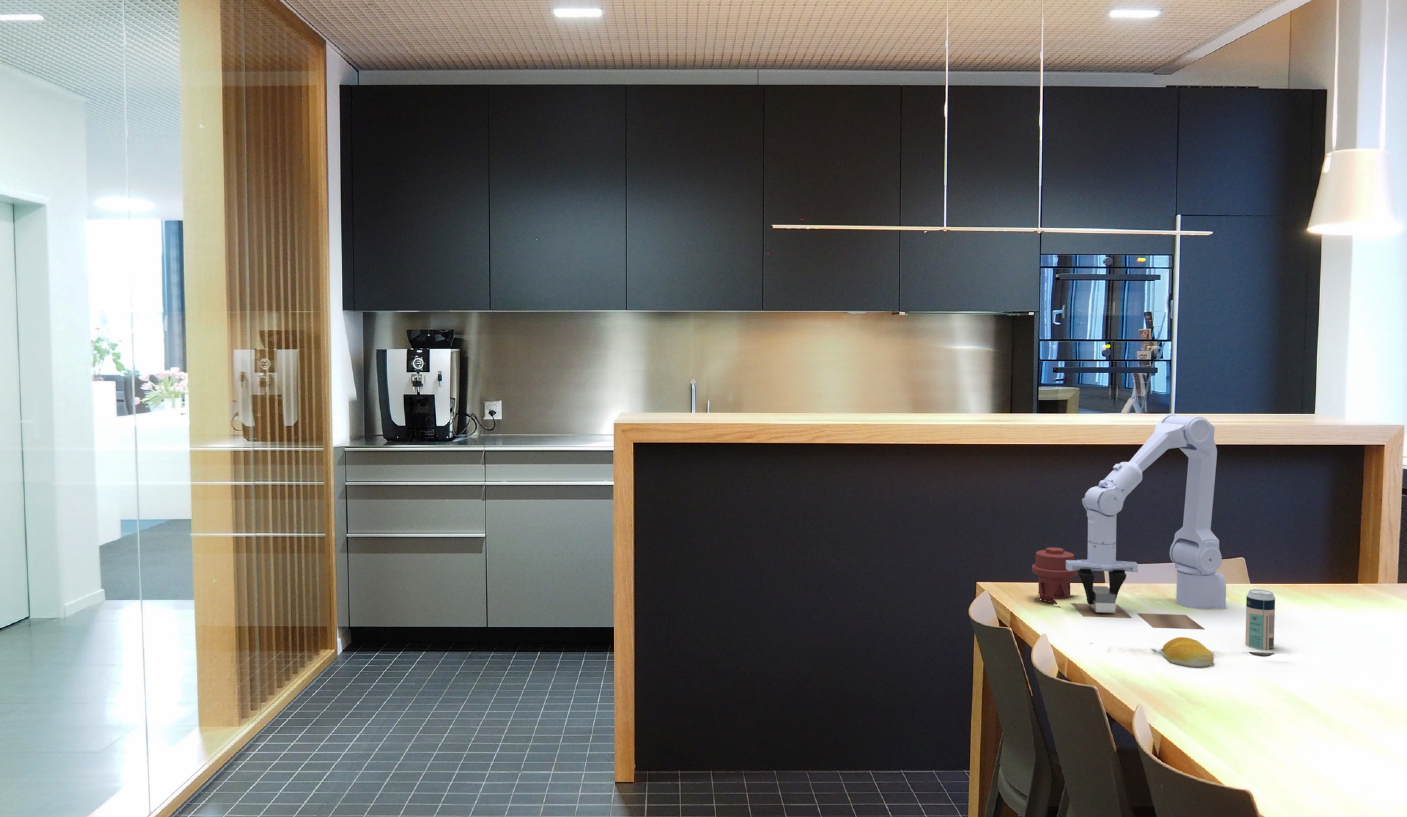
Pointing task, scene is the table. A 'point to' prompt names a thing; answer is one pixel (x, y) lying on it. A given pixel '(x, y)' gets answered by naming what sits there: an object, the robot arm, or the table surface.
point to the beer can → (1260, 621)
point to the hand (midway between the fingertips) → (1100, 603)
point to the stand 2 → (1170, 621)
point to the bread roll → (1187, 652)
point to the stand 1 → (1089, 612)
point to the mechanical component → (1053, 573)
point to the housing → (1103, 599)
